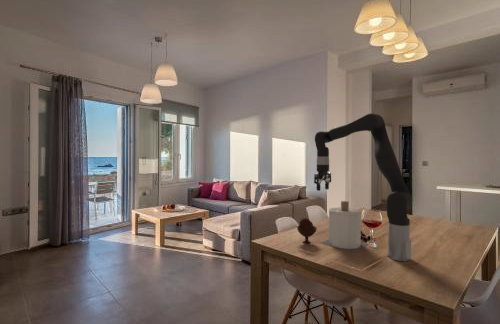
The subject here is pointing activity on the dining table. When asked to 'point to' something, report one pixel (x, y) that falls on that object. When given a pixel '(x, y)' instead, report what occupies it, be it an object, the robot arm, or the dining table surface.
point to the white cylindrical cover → (345, 227)
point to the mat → (343, 248)
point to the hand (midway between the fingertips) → (322, 189)
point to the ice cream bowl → (306, 229)
